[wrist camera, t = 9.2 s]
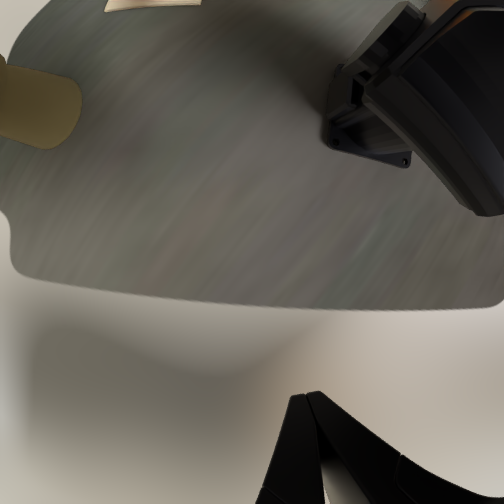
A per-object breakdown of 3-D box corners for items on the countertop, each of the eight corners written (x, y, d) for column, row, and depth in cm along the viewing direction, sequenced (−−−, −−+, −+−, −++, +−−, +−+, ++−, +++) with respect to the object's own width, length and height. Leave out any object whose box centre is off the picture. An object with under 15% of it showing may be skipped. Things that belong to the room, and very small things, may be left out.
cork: (19, 147, 17) (-80, 145, 6) (38, 78, 15) (-51, 45, 5) (70, 153, 17) (-41, 146, 7) (92, 76, 16) (0, 22, 5)
